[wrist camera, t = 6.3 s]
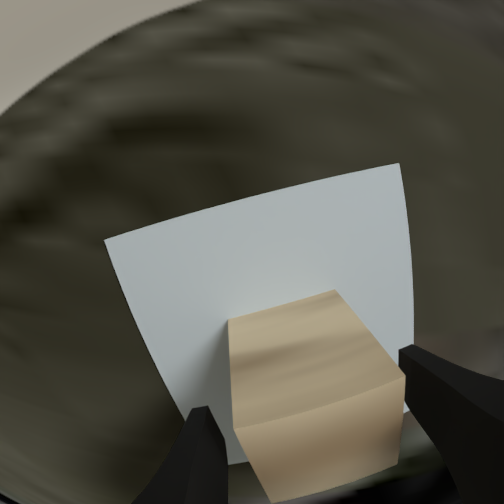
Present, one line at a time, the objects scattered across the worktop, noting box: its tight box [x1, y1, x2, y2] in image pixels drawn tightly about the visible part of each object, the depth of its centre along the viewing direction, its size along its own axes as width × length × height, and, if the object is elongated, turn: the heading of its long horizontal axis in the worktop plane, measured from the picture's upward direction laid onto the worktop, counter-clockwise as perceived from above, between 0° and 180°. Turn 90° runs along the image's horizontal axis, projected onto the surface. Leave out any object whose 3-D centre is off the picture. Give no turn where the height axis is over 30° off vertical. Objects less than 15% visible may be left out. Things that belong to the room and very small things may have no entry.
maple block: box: [228, 289, 406, 503], centre depth 10 cm, size 4×4×6 cm
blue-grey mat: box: [104, 163, 414, 465], centre depth 13 cm, size 14×12×1 cm
